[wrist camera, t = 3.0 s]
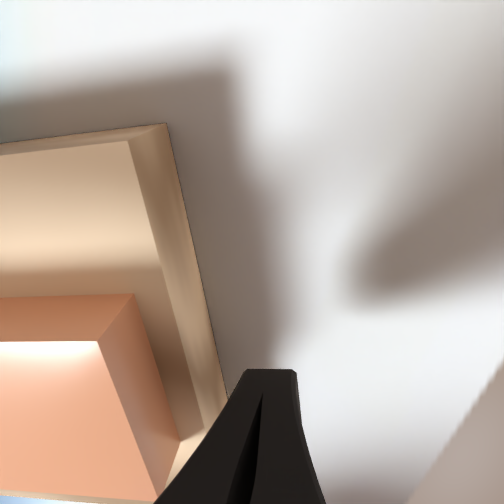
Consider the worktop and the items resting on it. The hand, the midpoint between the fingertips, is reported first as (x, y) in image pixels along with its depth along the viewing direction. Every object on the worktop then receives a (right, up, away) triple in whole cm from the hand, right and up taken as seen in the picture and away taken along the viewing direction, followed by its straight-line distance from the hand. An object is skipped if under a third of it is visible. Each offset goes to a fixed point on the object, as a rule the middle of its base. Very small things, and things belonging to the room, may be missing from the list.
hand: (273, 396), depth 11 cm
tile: (-8, 0, +2) cm, 8 cm away
